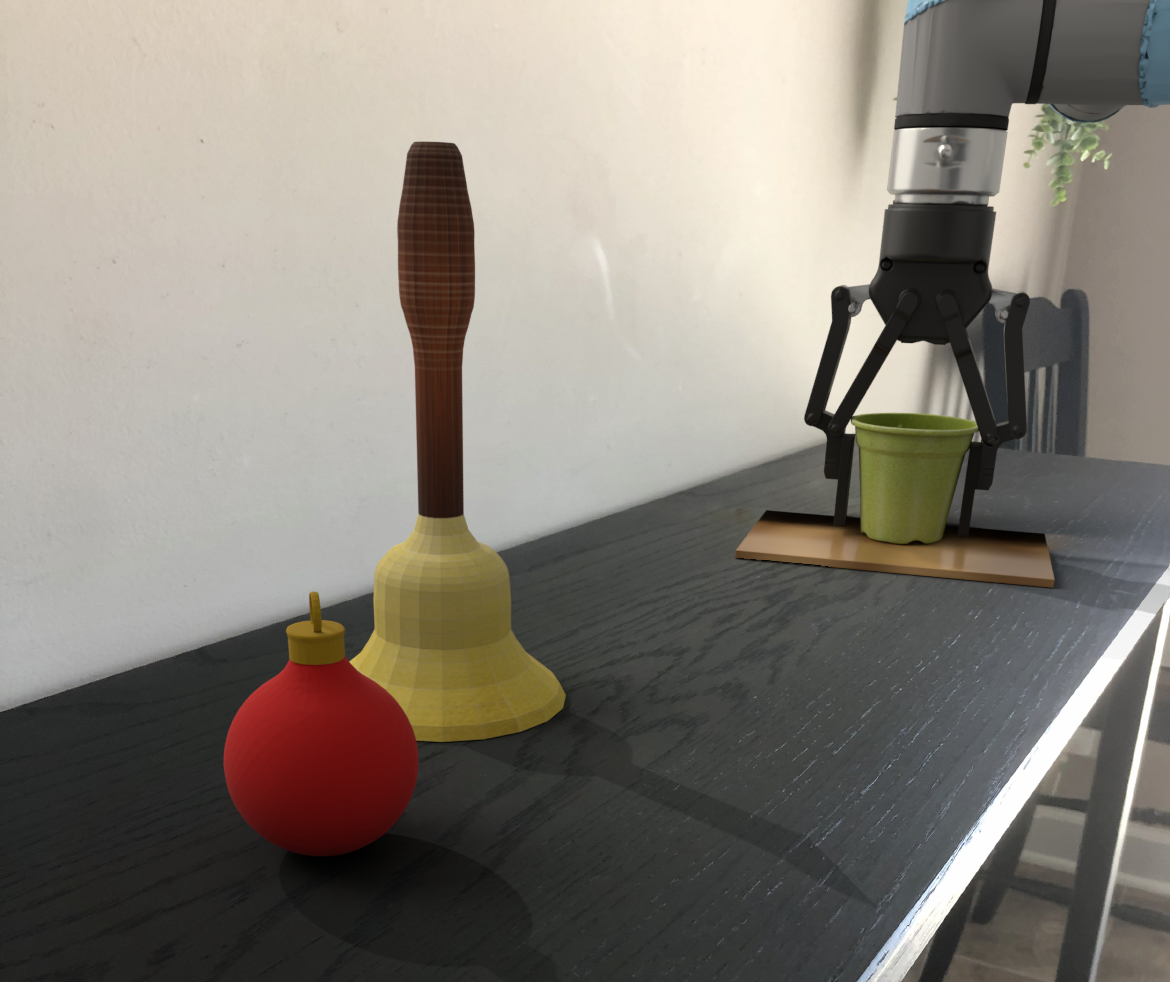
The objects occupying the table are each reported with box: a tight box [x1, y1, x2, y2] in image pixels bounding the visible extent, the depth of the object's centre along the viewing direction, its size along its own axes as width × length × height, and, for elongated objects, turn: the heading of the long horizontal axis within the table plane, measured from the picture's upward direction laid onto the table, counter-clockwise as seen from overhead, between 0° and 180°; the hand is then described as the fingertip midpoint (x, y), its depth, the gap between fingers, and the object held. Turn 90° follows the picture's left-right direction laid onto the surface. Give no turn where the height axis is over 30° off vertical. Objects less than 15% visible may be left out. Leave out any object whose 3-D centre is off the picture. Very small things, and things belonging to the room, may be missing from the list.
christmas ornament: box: [223, 591, 420, 857], centre depth 46 cm, size 7×7×10 cm
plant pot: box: [850, 412, 979, 544], centre depth 95 cm, size 9×9×9 cm
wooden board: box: [734, 509, 1056, 589], centre depth 97 cm, size 22×18×1 cm
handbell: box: [348, 141, 567, 743], centre depth 59 cm, size 12×12×25 cm
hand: (900, 527), depth 96 cm, fingers open, 8 cm apart
